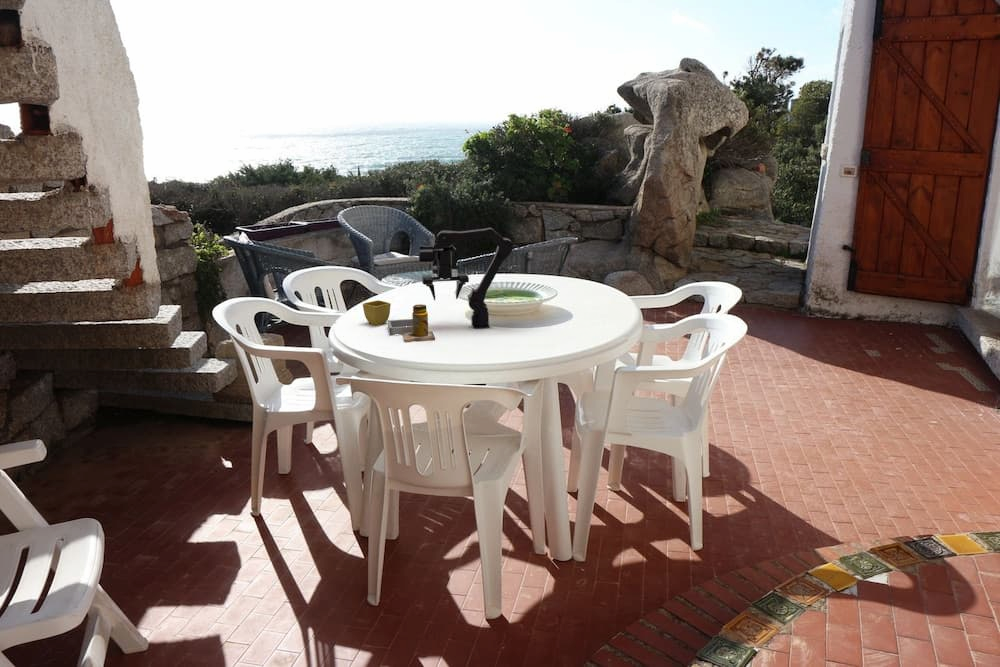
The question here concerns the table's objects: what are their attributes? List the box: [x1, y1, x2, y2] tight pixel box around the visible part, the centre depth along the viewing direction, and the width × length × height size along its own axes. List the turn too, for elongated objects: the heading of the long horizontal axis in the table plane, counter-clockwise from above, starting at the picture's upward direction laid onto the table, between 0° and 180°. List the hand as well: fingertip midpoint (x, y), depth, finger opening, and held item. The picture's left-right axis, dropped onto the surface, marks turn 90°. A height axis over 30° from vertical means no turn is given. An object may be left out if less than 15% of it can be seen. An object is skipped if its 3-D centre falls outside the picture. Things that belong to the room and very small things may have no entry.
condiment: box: [406, 303, 431, 339], centre depth 289 cm, size 7×8×12 cm
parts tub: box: [387, 318, 413, 336], centre depth 302 cm, size 14×13×3 cm
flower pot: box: [362, 299, 392, 326], centre depth 313 cm, size 9×9×9 cm
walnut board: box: [402, 330, 436, 343], centre depth 291 cm, size 12×10×1 cm
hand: (445, 299), depth 302 cm, fingers open, 9 cm apart
